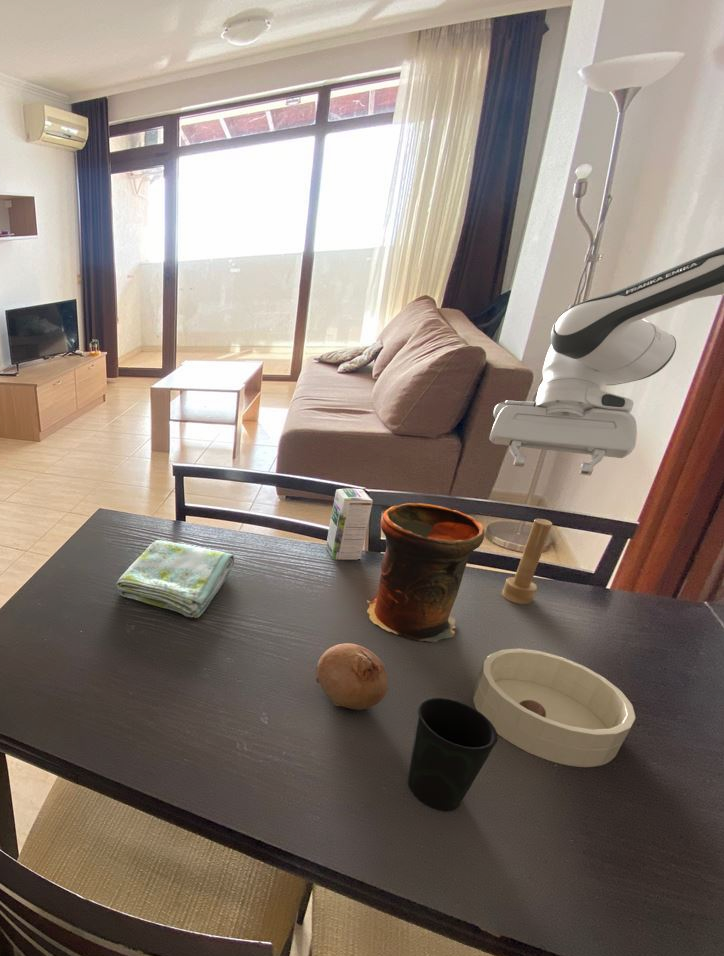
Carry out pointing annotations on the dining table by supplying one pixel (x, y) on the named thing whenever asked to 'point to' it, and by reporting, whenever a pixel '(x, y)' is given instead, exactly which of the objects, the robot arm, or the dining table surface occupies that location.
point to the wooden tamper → (528, 565)
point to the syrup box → (348, 524)
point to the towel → (176, 577)
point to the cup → (448, 751)
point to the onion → (352, 676)
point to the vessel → (423, 569)
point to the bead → (534, 707)
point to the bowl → (553, 707)
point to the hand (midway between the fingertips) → (551, 469)
